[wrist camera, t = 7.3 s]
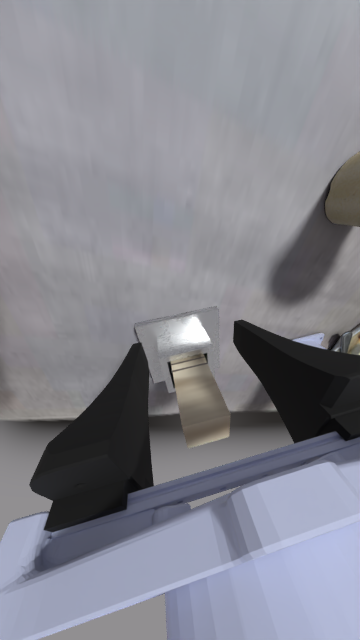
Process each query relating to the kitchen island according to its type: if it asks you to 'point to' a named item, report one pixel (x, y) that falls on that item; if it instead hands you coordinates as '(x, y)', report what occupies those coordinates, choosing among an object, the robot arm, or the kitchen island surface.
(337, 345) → the salad plate
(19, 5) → the kitchen island surface
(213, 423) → the column
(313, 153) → the kitchen island surface
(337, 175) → the flower pot
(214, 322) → the stand
